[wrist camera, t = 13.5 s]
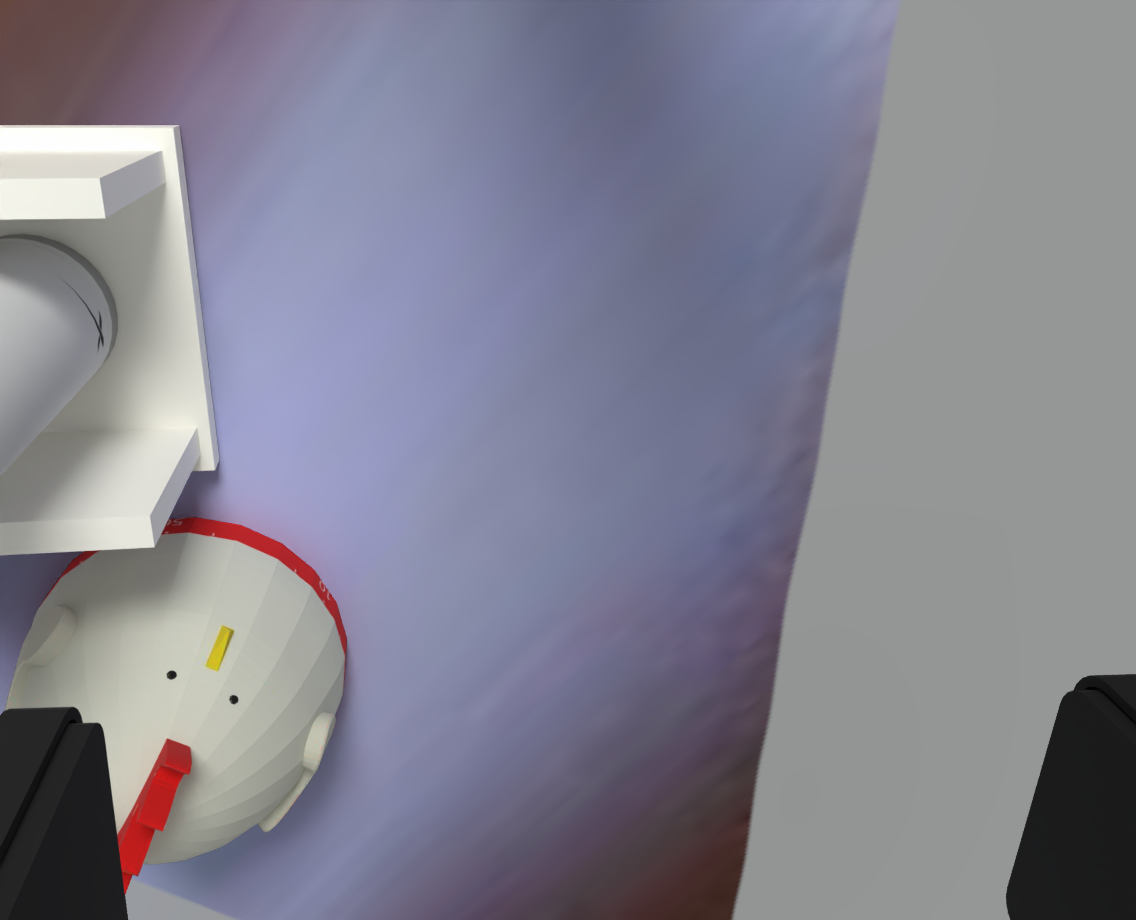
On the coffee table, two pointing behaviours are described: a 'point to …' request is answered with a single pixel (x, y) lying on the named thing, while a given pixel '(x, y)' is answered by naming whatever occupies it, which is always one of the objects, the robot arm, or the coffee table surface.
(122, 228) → the holder
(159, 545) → the kitchen timer
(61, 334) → the travel mug
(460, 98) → the coffee table surface
